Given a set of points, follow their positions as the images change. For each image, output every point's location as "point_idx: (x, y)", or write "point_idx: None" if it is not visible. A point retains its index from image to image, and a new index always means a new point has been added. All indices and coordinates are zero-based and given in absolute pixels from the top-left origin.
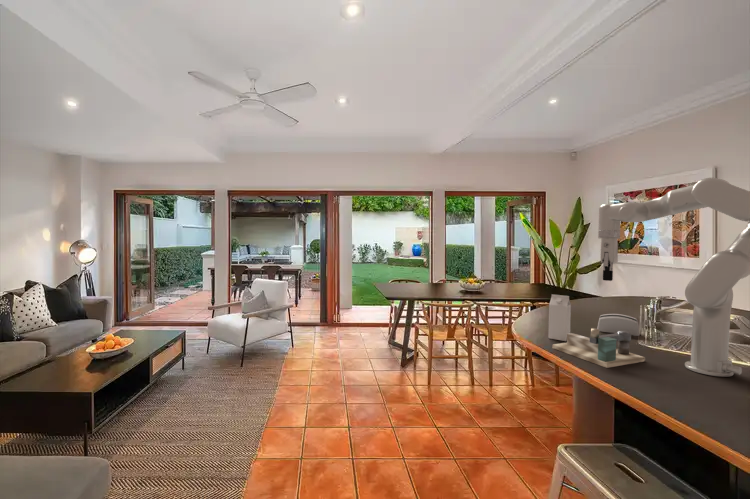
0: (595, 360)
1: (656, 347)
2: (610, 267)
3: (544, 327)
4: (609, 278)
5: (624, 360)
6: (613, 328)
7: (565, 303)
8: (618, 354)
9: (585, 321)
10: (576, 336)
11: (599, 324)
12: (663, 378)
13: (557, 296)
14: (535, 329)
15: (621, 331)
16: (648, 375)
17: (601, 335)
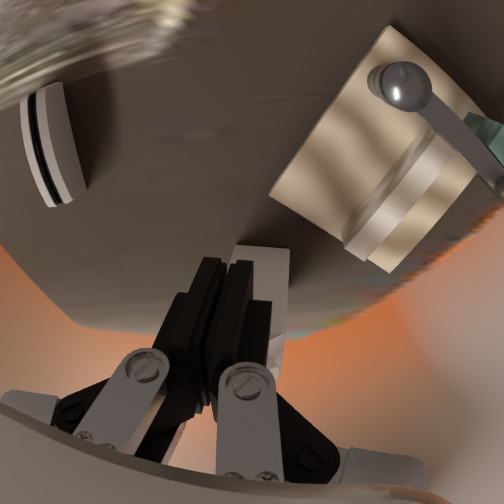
0: None
1: (171, 4)
2: (276, 425)
3: (161, 312)
4: (251, 295)
5: (459, 87)
6: (70, 151)
7: (270, 345)
8: None
9: (23, 236)
10: (389, 232)
11: (79, 193)
12: (501, 19)
13: None
14: None
15: (403, 95)
16: (501, 46)
17: (478, 168)
